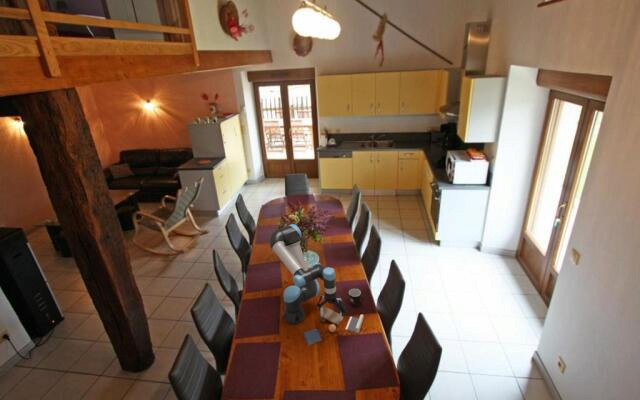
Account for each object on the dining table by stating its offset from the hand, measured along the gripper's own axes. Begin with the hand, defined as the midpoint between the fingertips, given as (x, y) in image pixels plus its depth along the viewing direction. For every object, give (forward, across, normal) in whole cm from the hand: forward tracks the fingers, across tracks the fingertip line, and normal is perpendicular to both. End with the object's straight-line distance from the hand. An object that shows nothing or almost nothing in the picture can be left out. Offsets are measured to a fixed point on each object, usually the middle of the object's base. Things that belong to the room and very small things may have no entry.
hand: (331, 317), depth 218 cm
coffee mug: (+12, +8, +29) cm, 33 cm away
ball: (+10, 0, 0) cm, 10 cm away
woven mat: (+13, -11, -9) cm, 19 cm away
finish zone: (+12, +12, +10) cm, 20 cm away
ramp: (+12, -4, +10) cm, 16 cm away
